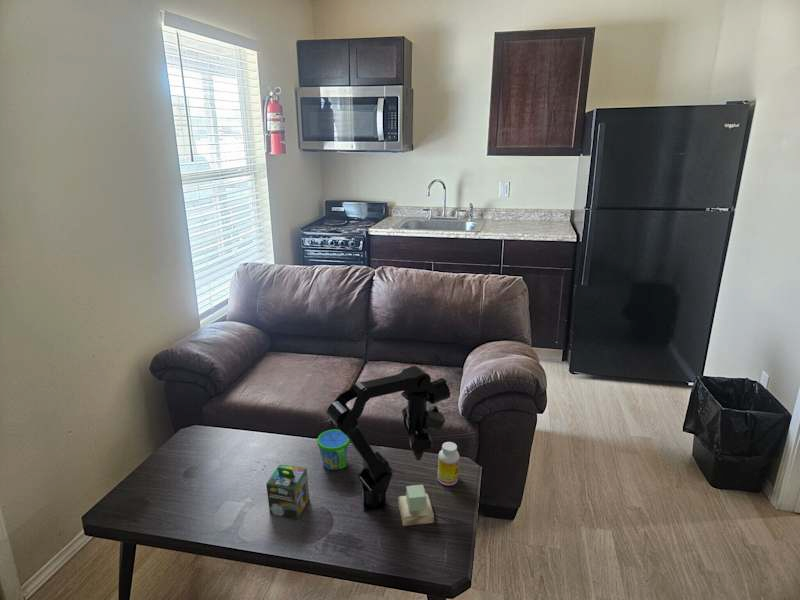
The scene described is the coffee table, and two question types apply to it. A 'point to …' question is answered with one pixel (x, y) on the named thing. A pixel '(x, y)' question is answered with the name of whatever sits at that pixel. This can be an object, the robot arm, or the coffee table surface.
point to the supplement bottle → (448, 464)
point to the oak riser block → (415, 513)
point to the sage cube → (416, 498)
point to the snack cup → (333, 448)
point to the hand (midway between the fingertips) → (415, 450)
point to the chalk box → (288, 491)
